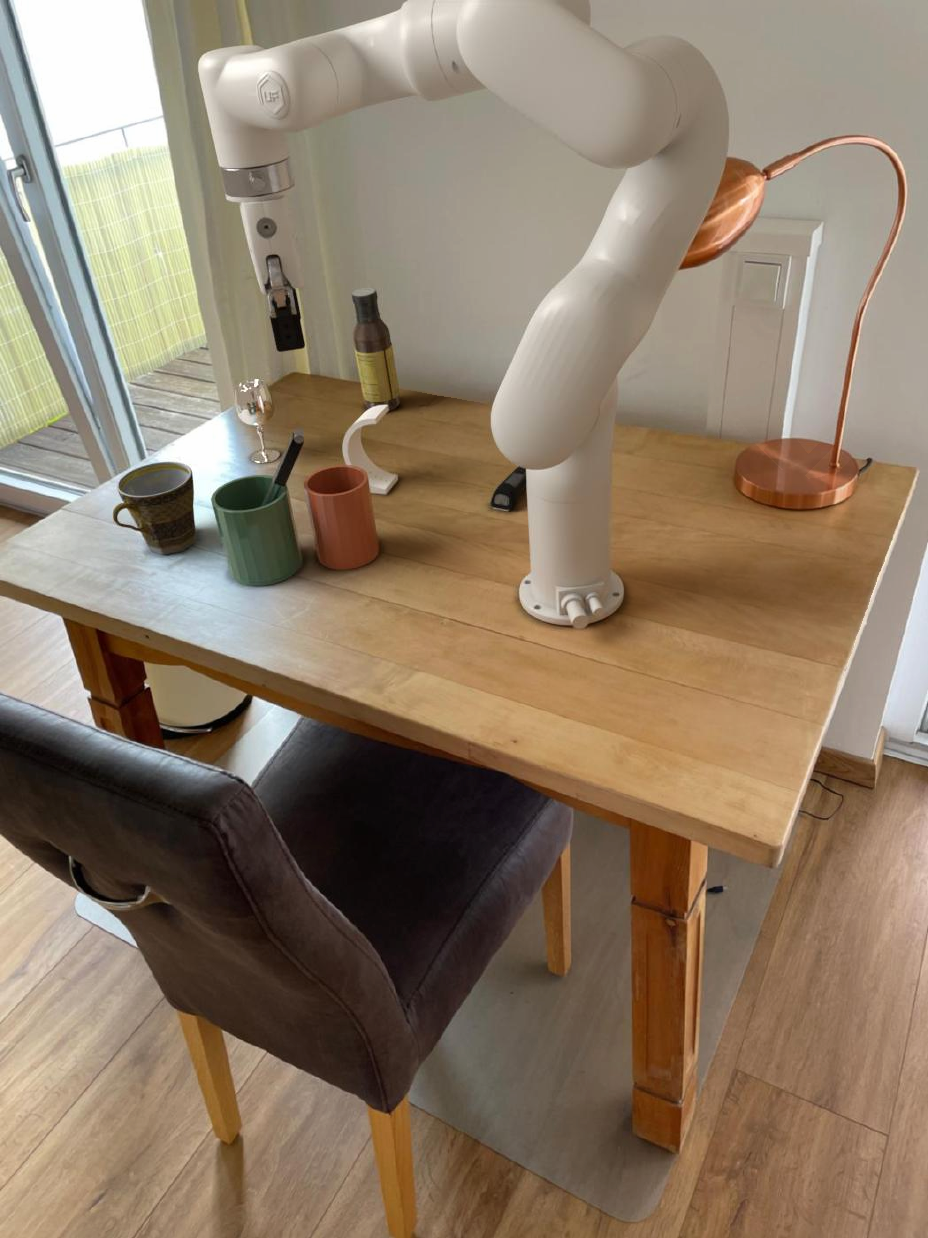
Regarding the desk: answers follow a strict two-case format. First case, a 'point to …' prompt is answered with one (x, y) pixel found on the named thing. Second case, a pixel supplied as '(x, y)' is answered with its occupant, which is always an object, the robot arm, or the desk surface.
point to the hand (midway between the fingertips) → (289, 334)
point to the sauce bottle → (374, 352)
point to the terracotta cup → (342, 516)
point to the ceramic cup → (160, 505)
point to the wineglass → (256, 412)
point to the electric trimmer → (509, 490)
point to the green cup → (257, 531)
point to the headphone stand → (357, 456)
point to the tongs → (285, 465)
